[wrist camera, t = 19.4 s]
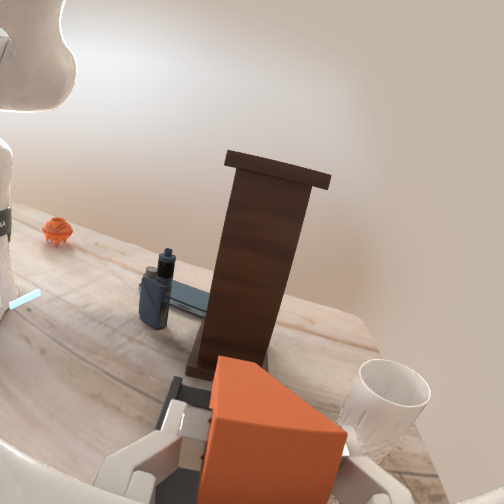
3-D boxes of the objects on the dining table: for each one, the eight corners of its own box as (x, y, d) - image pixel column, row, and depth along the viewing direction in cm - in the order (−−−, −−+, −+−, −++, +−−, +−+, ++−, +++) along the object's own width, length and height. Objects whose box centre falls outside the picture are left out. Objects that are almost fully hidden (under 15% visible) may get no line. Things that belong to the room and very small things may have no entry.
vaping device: (157, 332, 43) (168, 253, 40) (135, 316, 46) (143, 241, 42) (170, 327, 45) (181, 251, 42) (147, 312, 48) (156, 240, 45)
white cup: (307, 442, 28) (342, 371, 26) (351, 417, 33) (384, 351, 31) (359, 487, 22) (410, 418, 20) (397, 453, 27) (441, 387, 25)
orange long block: (321, 521, 6) (349, 432, 7) (195, 511, 6) (215, 416, 7) (249, 393, 27) (255, 362, 28) (212, 385, 27) (218, 355, 28)
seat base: (287, 606, 10) (296, 602, 9) (109, 580, 9) (106, 575, 9) (275, 409, 33) (280, 397, 33) (172, 388, 32) (174, 375, 32)
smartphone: (160, 274, 61) (228, 298, 56) (160, 282, 61) (226, 307, 57) (136, 283, 54) (208, 312, 49) (135, 292, 54) (206, 321, 50)
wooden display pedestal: (266, 396, 35) (331, 175, 28) (183, 379, 35) (227, 149, 28) (263, 339, 49) (308, 173, 42) (201, 326, 48) (236, 156, 42)
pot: (35, 244, 59) (38, 215, 59) (48, 243, 67) (52, 216, 67) (63, 249, 61) (67, 218, 61) (75, 247, 69) (78, 220, 69)
